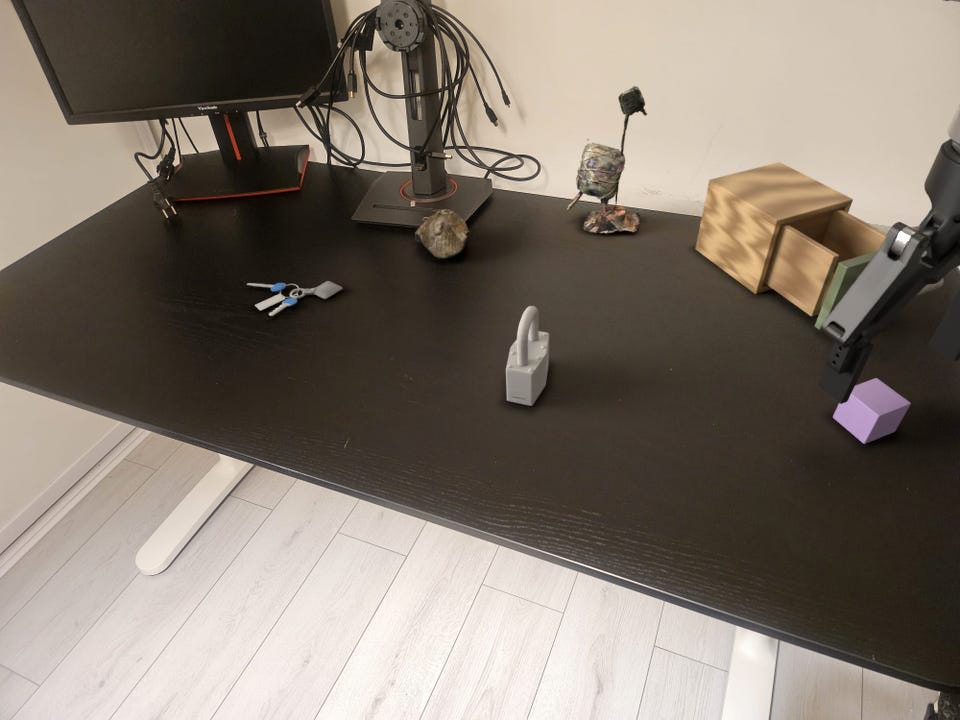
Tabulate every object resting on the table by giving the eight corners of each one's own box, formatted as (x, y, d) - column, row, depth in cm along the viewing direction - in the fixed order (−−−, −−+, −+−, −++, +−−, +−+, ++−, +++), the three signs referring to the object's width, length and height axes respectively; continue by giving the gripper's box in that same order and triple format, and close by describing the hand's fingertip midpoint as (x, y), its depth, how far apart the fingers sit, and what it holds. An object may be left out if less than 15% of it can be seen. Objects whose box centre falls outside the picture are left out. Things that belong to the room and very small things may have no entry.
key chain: (345, 283, 86) (344, 278, 86) (333, 318, 80) (331, 313, 80) (249, 285, 87) (247, 280, 87) (229, 320, 81) (227, 315, 80)
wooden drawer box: (826, 272, 82) (853, 199, 75) (755, 294, 79) (777, 220, 72) (760, 230, 91) (779, 161, 84) (695, 249, 88) (709, 179, 81)
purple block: (862, 405, 64) (876, 377, 61) (895, 431, 61) (911, 403, 58) (832, 417, 63) (845, 389, 60) (864, 444, 60) (879, 416, 57)
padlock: (520, 360, 72) (518, 289, 65) (553, 366, 71) (555, 295, 64) (501, 401, 67) (498, 329, 60) (537, 408, 66) (538, 336, 59)
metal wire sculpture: (579, 206, 100) (586, 76, 87) (647, 218, 96) (666, 84, 82) (560, 228, 95) (564, 95, 82) (632, 243, 90) (649, 104, 77)
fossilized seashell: (482, 243, 88) (465, 222, 96) (454, 209, 84) (439, 190, 93) (443, 277, 89) (429, 253, 97) (413, 244, 85) (402, 223, 94)
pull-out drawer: (926, 332, 70) (962, 266, 65) (856, 357, 68) (886, 291, 62) (817, 263, 82) (839, 202, 76) (754, 282, 80) (771, 221, 74)
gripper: (921, 208, 37) (813, 441, 51) (1183, 133, 43) (1024, 359, 57) (825, 163, 43) (752, 385, 56) (1071, 102, 49) (950, 315, 63)
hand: (889, 372), depth 57 cm, fingers open, 13 cm apart
